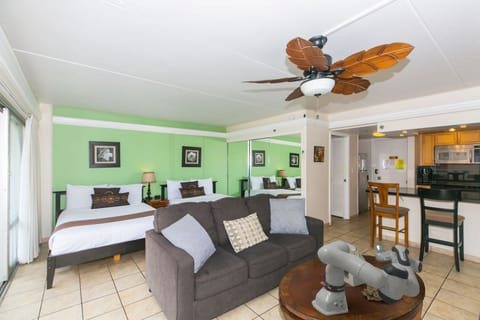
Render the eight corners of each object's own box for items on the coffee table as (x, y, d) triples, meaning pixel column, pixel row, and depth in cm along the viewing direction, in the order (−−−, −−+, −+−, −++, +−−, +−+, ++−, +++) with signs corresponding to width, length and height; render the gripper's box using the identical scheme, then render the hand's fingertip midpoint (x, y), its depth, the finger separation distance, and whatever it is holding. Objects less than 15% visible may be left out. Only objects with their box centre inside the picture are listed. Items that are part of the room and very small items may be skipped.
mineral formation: (368, 290, 157) (393, 298, 145) (361, 300, 148) (386, 310, 137) (366, 279, 156) (391, 286, 145) (359, 289, 148) (384, 298, 136)
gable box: (366, 283, 166) (365, 246, 166) (353, 287, 161) (352, 248, 162) (342, 270, 186) (342, 237, 187) (330, 273, 182) (330, 239, 182)
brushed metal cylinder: (381, 262, 170) (380, 247, 170) (373, 259, 176) (373, 244, 176) (386, 261, 172) (385, 245, 173) (379, 258, 178) (378, 243, 178)
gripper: (387, 265, 158) (369, 258, 171) (405, 260, 166) (387, 253, 179) (387, 256, 158) (369, 249, 171) (405, 251, 166) (387, 245, 179)
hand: (378, 251), depth 175 cm, fingers closed on brushed metal cylinder, 6 cm apart
